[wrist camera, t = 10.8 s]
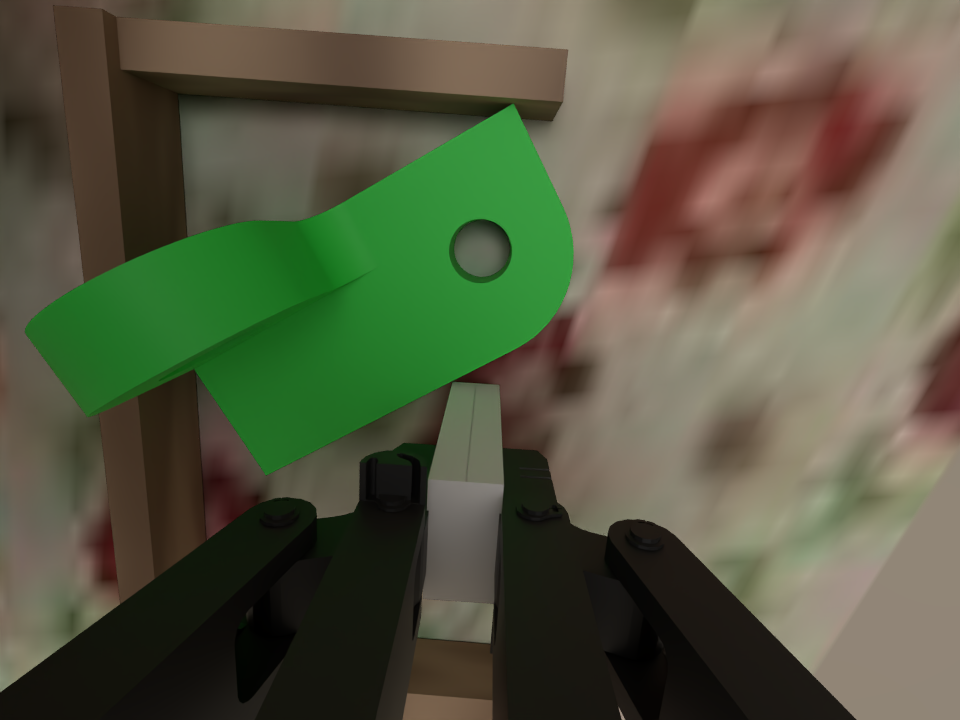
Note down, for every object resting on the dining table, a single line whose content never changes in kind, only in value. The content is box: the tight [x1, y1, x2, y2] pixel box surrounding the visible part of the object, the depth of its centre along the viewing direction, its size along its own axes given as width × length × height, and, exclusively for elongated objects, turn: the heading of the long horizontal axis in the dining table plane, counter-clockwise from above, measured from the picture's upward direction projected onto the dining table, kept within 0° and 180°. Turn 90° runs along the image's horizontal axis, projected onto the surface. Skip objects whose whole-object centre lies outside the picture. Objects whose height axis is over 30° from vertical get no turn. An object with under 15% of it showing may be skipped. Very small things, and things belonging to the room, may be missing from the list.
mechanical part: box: [25, 103, 573, 475], centre depth 13 cm, size 12×6×8 cm, turn 118°
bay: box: [53, 5, 568, 720], centre depth 17 cm, size 13×21×3 cm, turn 176°
